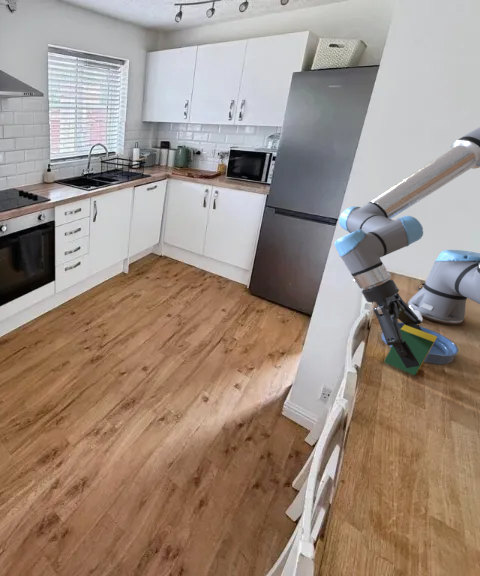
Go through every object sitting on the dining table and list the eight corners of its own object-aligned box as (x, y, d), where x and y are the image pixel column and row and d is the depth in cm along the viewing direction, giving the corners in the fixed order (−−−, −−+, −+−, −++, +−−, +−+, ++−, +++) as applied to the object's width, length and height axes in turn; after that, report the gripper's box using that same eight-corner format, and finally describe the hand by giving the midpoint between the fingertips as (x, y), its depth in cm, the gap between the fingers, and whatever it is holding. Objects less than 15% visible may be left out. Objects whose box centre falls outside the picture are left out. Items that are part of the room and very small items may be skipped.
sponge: (388, 357, 104) (404, 324, 99) (418, 370, 99) (437, 336, 94) (383, 363, 101) (400, 329, 97) (414, 376, 97) (433, 342, 92)
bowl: (389, 325, 120) (394, 316, 118) (457, 351, 109) (463, 341, 107) (373, 343, 110) (377, 334, 108) (445, 373, 99) (451, 363, 97)
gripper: (375, 278, 110) (414, 344, 107) (345, 301, 96) (389, 377, 92) (404, 268, 104) (446, 337, 101) (376, 290, 90) (425, 372, 86)
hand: (419, 357), depth 97 cm, fingers open, 12 cm apart
